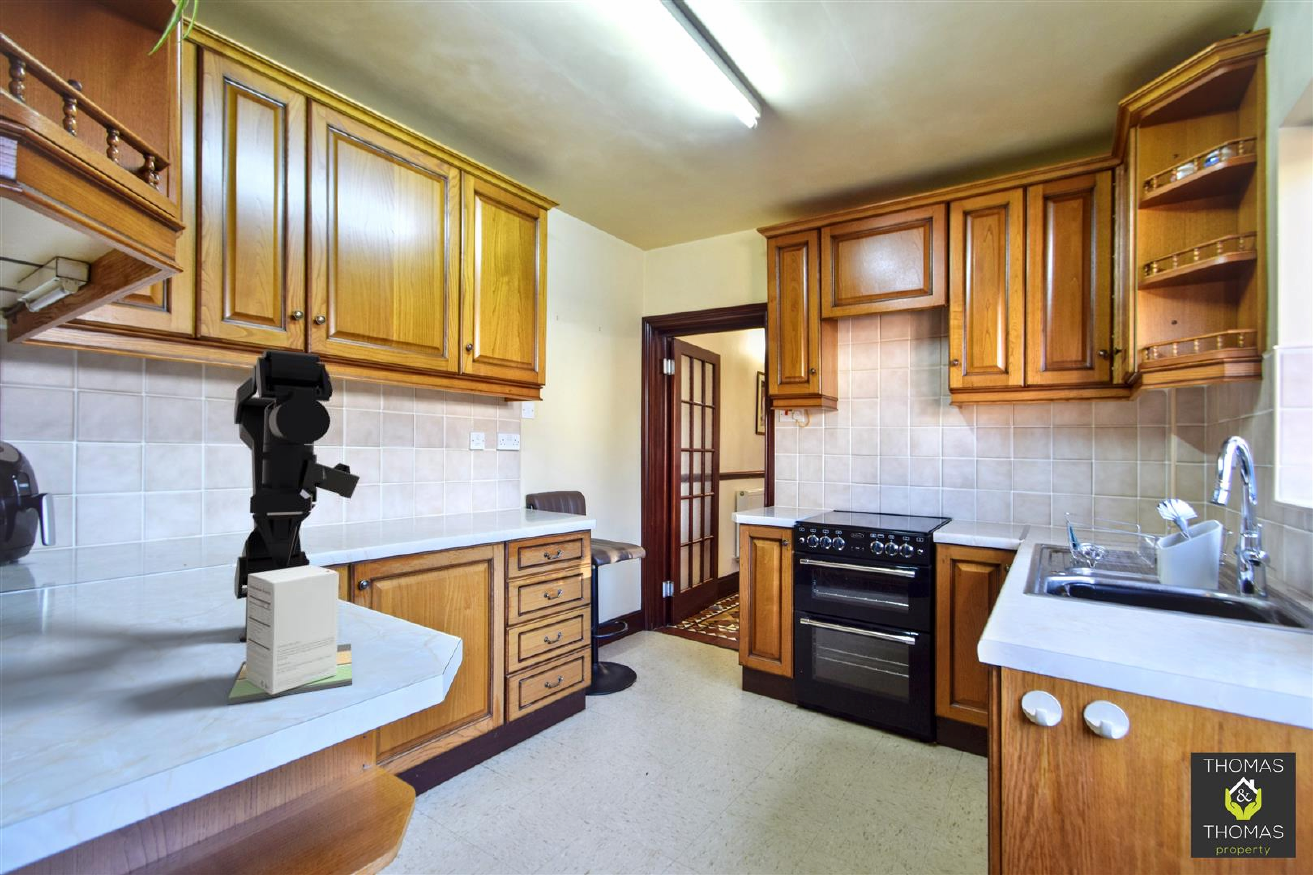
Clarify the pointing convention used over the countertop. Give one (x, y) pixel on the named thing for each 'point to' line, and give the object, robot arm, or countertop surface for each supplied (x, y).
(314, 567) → the supplement box
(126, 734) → the countertop surface
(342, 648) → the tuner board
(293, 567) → the robot arm
